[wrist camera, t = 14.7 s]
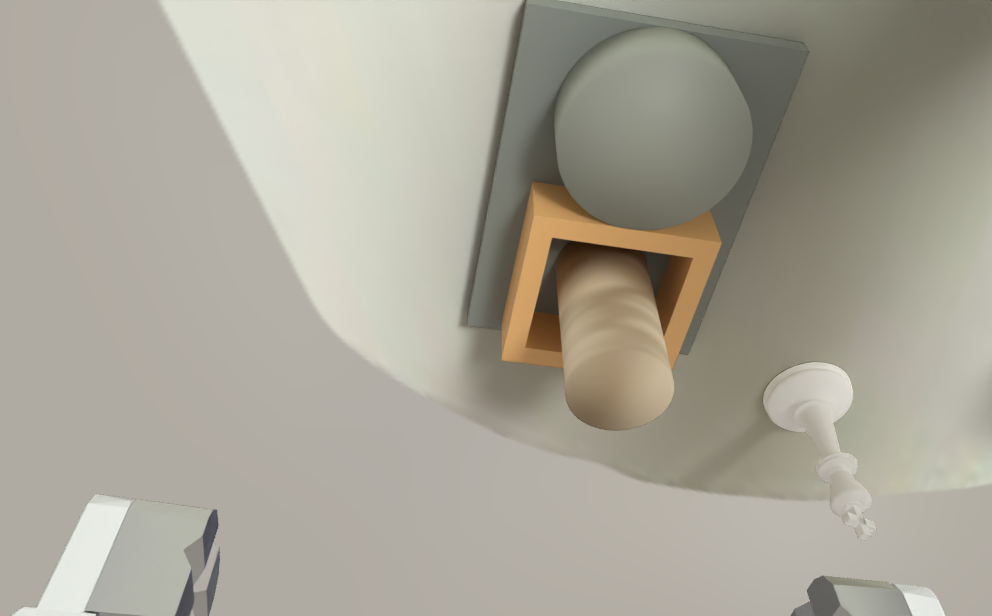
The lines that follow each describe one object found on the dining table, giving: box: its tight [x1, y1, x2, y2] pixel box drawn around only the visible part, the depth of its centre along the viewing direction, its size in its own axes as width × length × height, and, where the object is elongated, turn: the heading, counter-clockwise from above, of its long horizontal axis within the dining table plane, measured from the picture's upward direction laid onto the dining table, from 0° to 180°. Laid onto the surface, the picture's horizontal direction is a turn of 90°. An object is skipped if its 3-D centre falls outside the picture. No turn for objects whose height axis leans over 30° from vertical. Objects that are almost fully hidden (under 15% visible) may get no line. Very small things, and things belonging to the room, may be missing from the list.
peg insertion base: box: [467, 0, 809, 371], centre depth 40 cm, size 12×17×4 cm
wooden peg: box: [556, 240, 675, 430], centre depth 39 cm, size 4×4×9 cm
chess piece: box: [763, 362, 877, 541], centre depth 45 cm, size 5×5×10 cm
